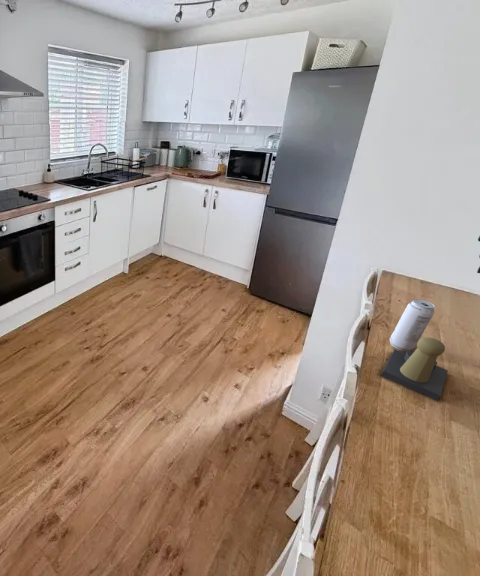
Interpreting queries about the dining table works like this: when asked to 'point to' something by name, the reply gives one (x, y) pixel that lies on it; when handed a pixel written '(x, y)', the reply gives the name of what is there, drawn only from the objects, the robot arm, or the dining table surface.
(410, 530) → the dining table surface
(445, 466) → the dining table surface
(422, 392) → the scale
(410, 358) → the cork
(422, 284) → the dining table surface
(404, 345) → the energy drink can
